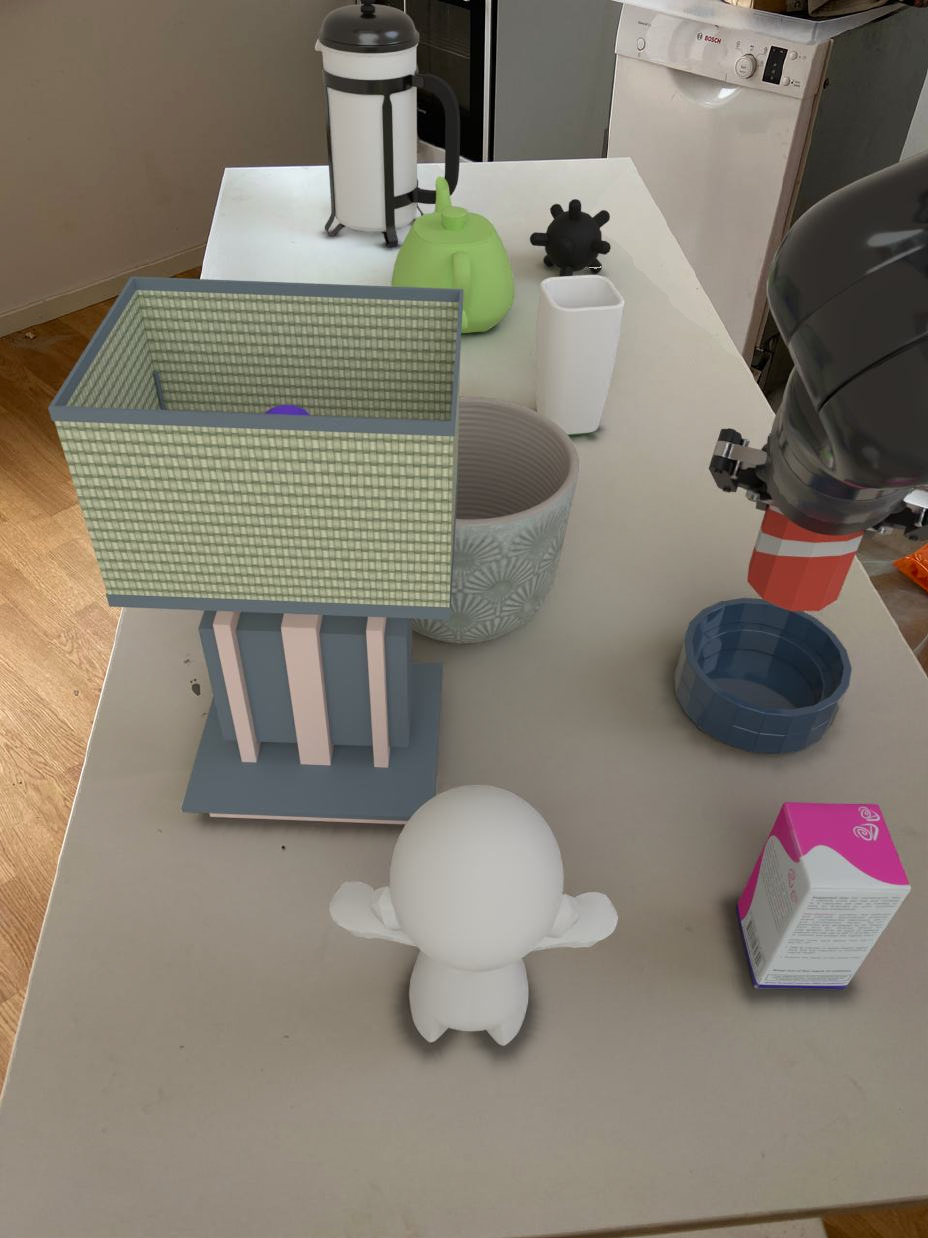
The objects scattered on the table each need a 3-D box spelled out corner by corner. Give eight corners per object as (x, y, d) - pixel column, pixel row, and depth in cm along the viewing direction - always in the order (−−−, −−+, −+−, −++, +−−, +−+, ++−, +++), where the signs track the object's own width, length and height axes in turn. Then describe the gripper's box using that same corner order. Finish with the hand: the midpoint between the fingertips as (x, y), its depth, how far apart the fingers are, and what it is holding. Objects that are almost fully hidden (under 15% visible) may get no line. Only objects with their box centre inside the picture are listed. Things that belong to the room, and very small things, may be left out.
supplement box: (849, 990, 59) (915, 891, 51) (752, 990, 59) (803, 890, 51) (823, 904, 63) (880, 800, 55) (733, 903, 63) (777, 799, 55)
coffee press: (339, 258, 133) (323, 3, 112) (313, 213, 143) (294, -26, 123) (459, 244, 137) (465, -4, 116) (425, 202, 148) (425, -32, 127)
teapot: (385, 275, 129) (381, 173, 120) (496, 272, 131) (501, 170, 122) (398, 357, 113) (396, 246, 104) (525, 352, 115) (533, 242, 106)
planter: (385, 692, 76) (378, 540, 65) (345, 556, 87) (334, 408, 77) (589, 654, 79) (614, 504, 69) (524, 528, 91) (537, 383, 80)
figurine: (595, 956, 60) (645, 754, 46) (605, 1097, 54) (665, 912, 40) (344, 944, 60) (319, 739, 46) (325, 1083, 54) (290, 895, 40)
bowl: (857, 692, 77) (878, 648, 73) (786, 787, 70) (805, 743, 67) (721, 621, 82) (734, 577, 79) (643, 702, 76) (654, 657, 72)
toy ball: (634, 243, 131) (624, 254, 121) (572, 292, 136) (556, 307, 126) (588, 176, 129) (573, 181, 119) (527, 228, 134) (507, 238, 124)
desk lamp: (452, 685, 76) (463, 286, 54) (444, 839, 66) (454, 427, 43) (219, 676, 76) (132, 274, 54) (176, 829, 66) (45, 411, 43)
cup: (542, 445, 101) (555, 311, 91) (525, 408, 106) (536, 277, 96) (609, 439, 102) (629, 305, 92) (589, 403, 107) (606, 273, 97)
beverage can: (800, 552, 71) (850, 409, 63) (853, 609, 67) (914, 463, 58) (728, 569, 69) (770, 424, 61) (778, 628, 65) (830, 480, 57)
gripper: (1021, 412, 47) (946, 483, 63) (728, 347, 51) (727, 429, 67) (973, 559, 47) (910, 593, 63) (684, 483, 51) (694, 533, 67)
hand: (816, 508), depth 65 cm, fingers closed on beverage can, 6 cm apart
